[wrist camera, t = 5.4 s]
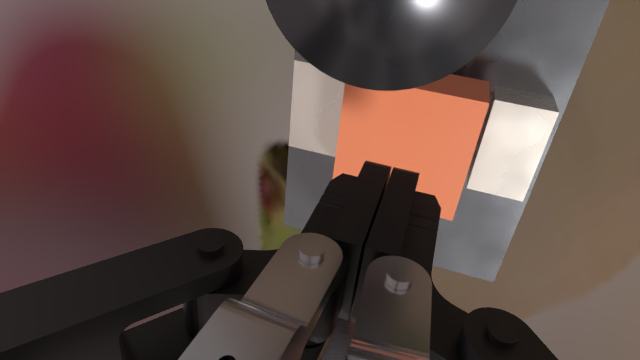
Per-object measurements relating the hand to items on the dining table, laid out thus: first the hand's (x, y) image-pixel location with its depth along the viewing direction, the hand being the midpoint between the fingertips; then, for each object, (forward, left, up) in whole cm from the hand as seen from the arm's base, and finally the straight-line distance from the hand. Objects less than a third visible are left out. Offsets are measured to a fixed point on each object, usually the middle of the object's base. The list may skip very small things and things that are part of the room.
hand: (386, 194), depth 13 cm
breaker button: (0, 0, -7) cm, 7 cm away
